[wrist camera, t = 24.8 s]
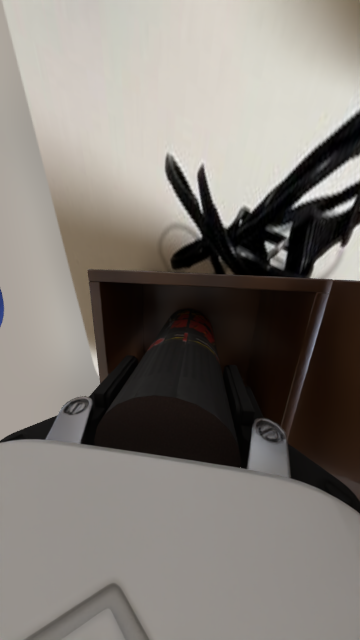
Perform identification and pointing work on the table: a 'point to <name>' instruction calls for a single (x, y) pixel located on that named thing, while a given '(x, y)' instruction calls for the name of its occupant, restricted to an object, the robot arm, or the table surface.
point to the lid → (333, 390)
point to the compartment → (217, 324)
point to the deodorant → (175, 399)
